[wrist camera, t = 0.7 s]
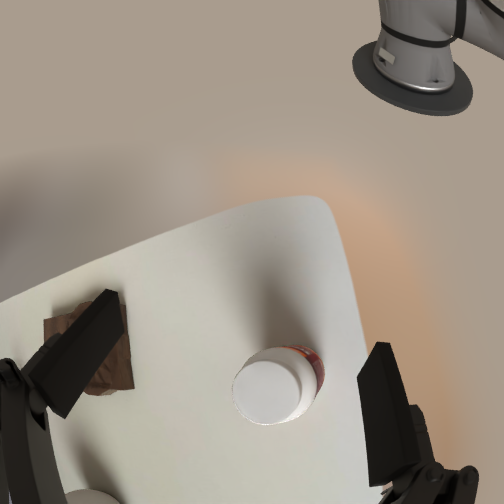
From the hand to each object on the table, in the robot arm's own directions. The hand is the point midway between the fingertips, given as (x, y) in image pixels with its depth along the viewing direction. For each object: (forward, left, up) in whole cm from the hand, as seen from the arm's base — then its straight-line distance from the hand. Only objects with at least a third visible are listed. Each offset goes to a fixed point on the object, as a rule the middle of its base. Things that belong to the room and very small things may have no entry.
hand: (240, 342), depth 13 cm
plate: (+24, -24, -16) cm, 37 cm away
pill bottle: (+3, +2, -16) cm, 17 cm away
